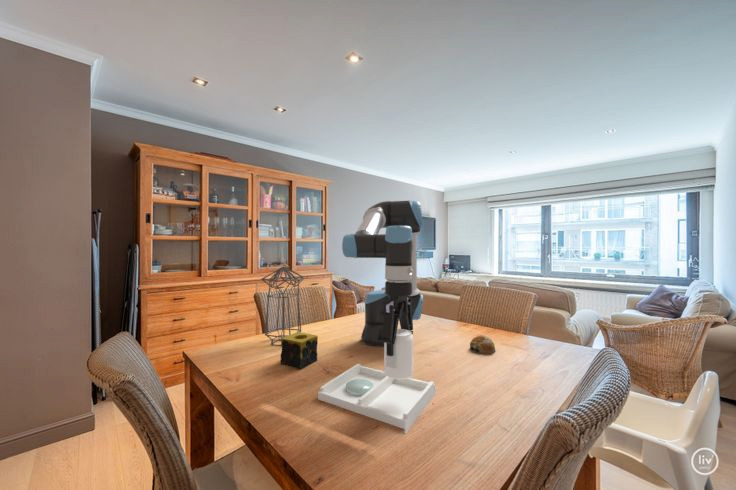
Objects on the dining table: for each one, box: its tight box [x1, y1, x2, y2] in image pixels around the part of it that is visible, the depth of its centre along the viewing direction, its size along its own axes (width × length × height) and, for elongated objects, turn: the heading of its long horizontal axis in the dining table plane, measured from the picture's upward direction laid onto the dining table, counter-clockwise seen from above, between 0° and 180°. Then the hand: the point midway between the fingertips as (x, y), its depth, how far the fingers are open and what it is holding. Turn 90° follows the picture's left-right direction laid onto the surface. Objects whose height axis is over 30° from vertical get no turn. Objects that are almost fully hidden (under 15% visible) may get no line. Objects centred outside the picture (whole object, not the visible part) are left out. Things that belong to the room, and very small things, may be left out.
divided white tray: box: [317, 363, 436, 435], centre depth 88 cm, size 27×22×4 cm
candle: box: [279, 331, 319, 370], centre depth 115 cm, size 10×10×10 cm
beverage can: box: [383, 328, 414, 380], centre depth 85 cm, size 8×8×12 cm
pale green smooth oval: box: [346, 379, 373, 396], centre depth 92 cm, size 8×8×1 cm
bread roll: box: [469, 335, 496, 355], centre depth 129 cm, size 10×10×8 cm
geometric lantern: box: [260, 266, 306, 347], centre depth 139 cm, size 16×16×35 cm
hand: (398, 361), depth 85 cm, fingers closed on beverage can, 8 cm apart
